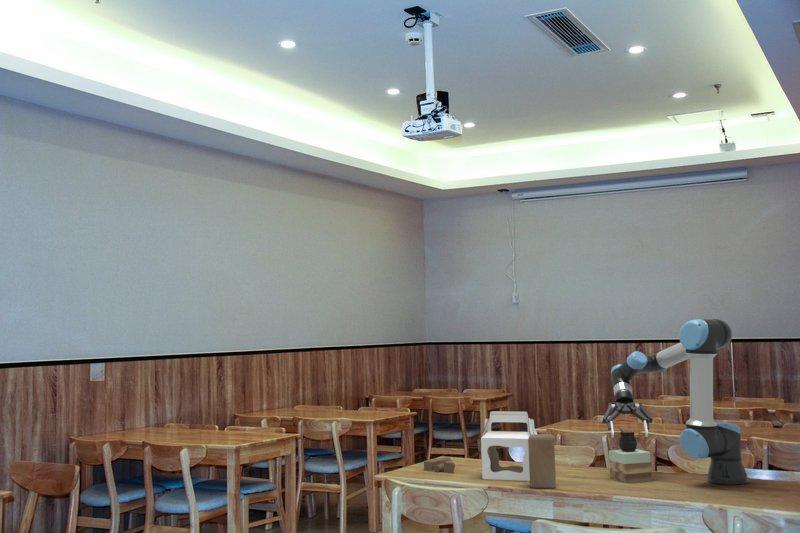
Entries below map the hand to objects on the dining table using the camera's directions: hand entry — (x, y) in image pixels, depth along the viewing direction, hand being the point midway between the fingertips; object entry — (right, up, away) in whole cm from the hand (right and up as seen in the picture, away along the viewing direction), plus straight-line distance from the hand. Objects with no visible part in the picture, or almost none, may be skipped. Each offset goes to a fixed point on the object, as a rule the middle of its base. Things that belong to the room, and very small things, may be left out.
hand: (629, 435), depth 336 cm
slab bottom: (+1, -19, 0) cm, 19 cm away
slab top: (0, -11, +1) cm, 11 cm away
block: (-37, -19, -9) cm, 42 cm away
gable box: (-47, -21, +13) cm, 53 cm away
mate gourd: (0, -7, +2) cm, 7 cm away
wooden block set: (-72, -24, +39) cm, 85 cm away
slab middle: (+1, -15, +1) cm, 15 cm away
